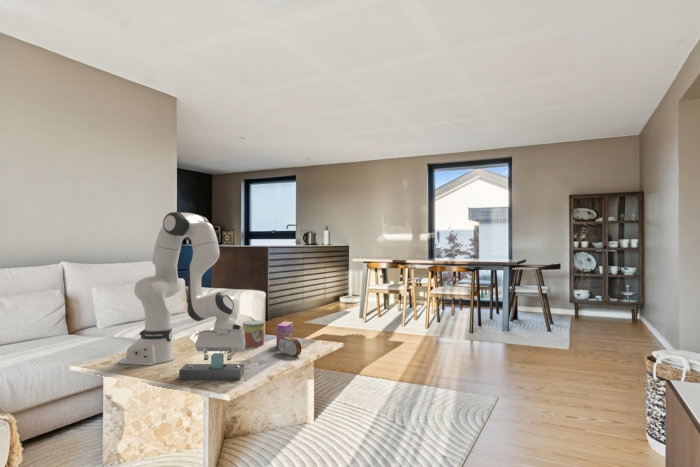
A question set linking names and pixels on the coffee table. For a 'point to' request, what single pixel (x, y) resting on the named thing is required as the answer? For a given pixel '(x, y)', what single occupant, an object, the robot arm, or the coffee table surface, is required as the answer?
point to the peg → (217, 361)
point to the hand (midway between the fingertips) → (217, 359)
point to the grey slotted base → (211, 372)
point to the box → (284, 331)
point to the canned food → (254, 333)
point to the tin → (289, 346)
